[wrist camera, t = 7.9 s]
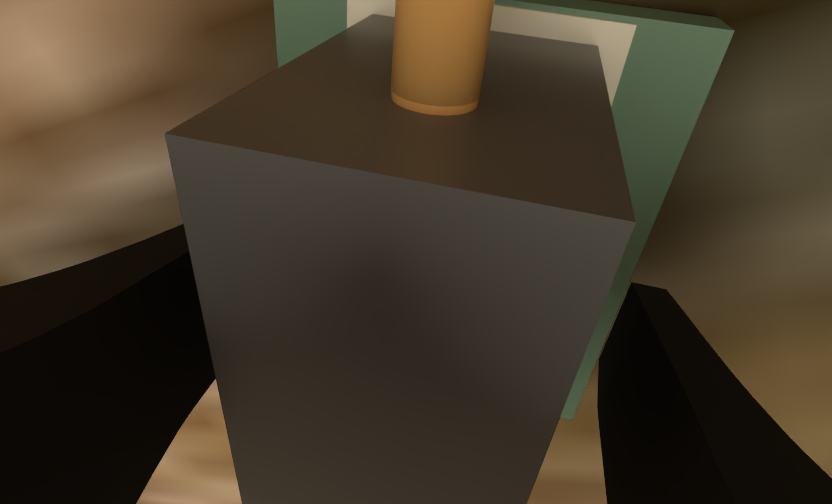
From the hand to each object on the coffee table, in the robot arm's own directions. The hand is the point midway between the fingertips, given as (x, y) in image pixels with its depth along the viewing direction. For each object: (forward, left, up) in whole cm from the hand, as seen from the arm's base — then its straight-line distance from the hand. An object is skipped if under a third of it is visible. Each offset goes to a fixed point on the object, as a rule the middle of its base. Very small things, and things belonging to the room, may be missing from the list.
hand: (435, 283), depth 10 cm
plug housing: (0, -2, -2) cm, 2 cm away
